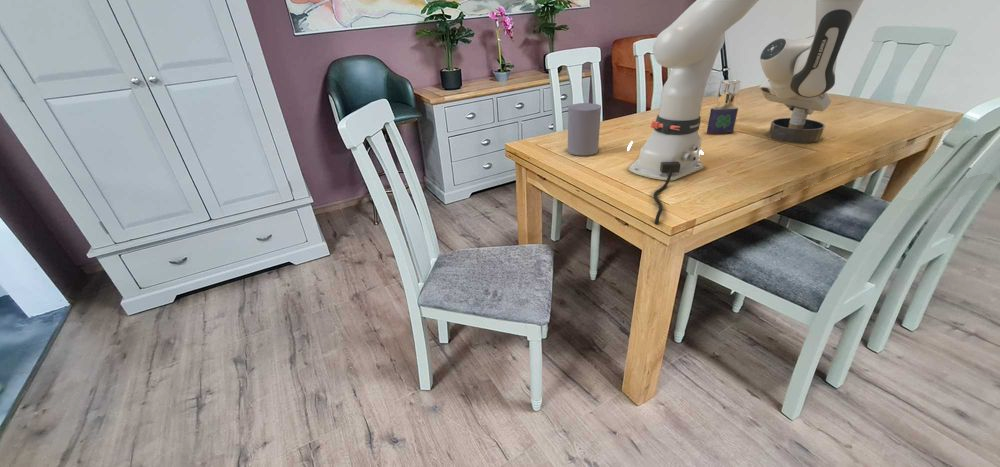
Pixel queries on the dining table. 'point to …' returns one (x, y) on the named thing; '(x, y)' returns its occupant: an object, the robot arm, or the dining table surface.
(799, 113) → the sprinkles bottle
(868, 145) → the dining table surface
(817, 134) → the pan
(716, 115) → the blue clover tile
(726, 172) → the dining table surface
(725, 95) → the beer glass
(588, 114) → the container
